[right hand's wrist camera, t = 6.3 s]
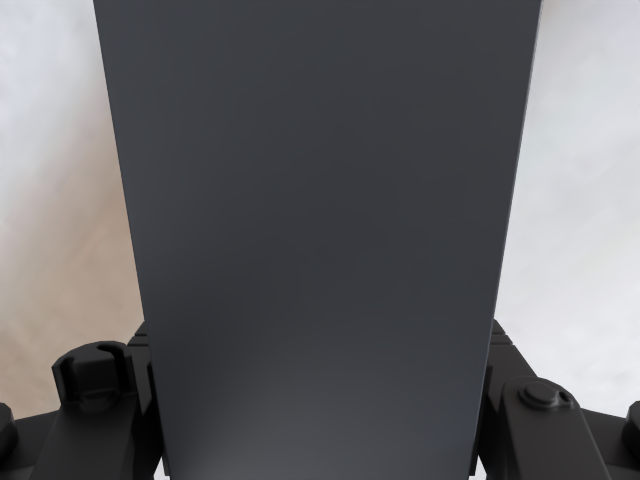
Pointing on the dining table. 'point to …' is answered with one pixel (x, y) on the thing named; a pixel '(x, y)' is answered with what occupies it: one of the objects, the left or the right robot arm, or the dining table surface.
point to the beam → (318, 223)
